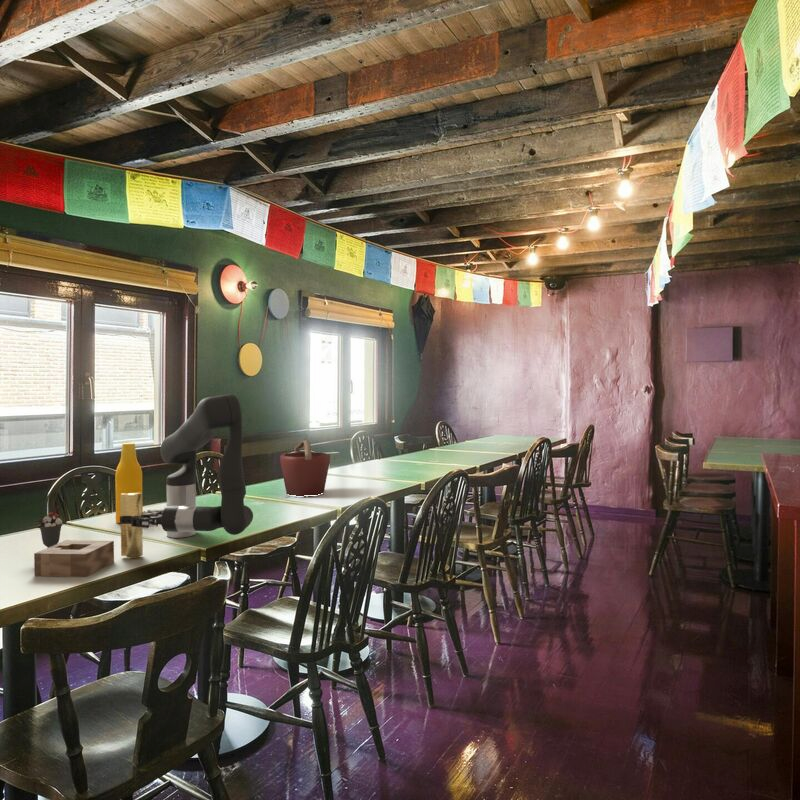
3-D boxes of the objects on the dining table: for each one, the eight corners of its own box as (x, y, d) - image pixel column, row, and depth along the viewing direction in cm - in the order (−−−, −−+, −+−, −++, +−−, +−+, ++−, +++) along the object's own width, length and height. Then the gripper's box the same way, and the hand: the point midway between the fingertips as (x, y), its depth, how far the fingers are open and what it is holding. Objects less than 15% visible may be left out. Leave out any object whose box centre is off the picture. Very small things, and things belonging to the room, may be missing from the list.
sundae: (68, 555, 180) (68, 505, 180) (56, 562, 174) (56, 509, 173) (46, 556, 180) (45, 505, 180) (33, 562, 174) (32, 510, 173)
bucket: (285, 490, 296) (285, 438, 295) (331, 489, 297) (331, 438, 297) (278, 499, 271) (278, 443, 271) (328, 498, 273) (328, 442, 272)
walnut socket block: (66, 560, 175) (66, 540, 175) (114, 561, 174) (113, 540, 174) (34, 575, 161) (34, 553, 161) (85, 576, 160) (85, 554, 160)
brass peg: (126, 553, 181) (125, 492, 180) (145, 553, 180) (144, 492, 180) (118, 557, 176) (117, 495, 176) (138, 557, 176) (137, 495, 175)
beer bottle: (132, 524, 221) (131, 444, 221) (110, 523, 223) (109, 444, 222) (148, 519, 230) (147, 442, 230) (126, 518, 232) (125, 442, 231)
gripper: (191, 500, 184) (136, 500, 185) (171, 510, 170) (111, 510, 171) (192, 525, 184) (136, 524, 185) (171, 537, 170) (111, 536, 171)
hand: (125, 517), depth 178 cm, fingers closed on brass peg, 4 cm apart
